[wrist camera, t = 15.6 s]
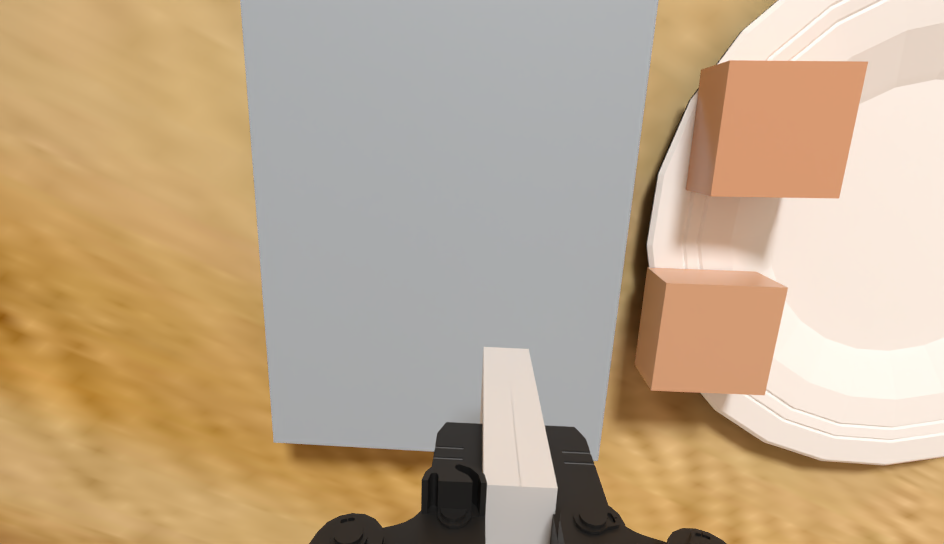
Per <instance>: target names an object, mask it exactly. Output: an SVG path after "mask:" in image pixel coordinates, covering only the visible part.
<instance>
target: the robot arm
mask: <svg viewBox="0 0 944 544" xmlns="http://www.w3.org/2000/svg"><path fill="white" fill-rule="evenodd" d="M309 544H726V543H725V542H724V541H723V540H721V539H719V538H718V537H716V536H714V535H712V534H710V533H708V532H705V531H701V530H698V529H691V528H682V529H679V530H677V531H674V532H672V534H671V535H670V537H669V538H668V540H667V542H663V541H660V540H657V539H653V538H650V537H647V536H644V535H641V534H639V533H636V532H634V531H632V530H631V529H629V528H627V527H626V526H625V524H624V522H623V520H622V519H621V517H620V515H619V514H618V513H617V512H616V511H615V510H613V509H612V508H611V507H610V506H608V503H607V500H606V497H605V494H604V491H603V488H602V485H601V482H600V479H599V476H598V473H597V471H596V468H595V465H594V462H593V459H592V456H591V454H590V450H589V447H588V444H587V441H586V438H585V437H584V436H583V435H582V434H581V433H580V432H579V431H578V430H577V429H576V428H575V427H568V426H547V425H544V420H543V415H542V411H541V406H540V401H539V396H538V391H537V386H536V382H535V377H534V372H533V367H532V362H531V358H530V353H529V349H520V348H499V347H484V349H483V369H482V389H481V409H480V424H477V423H456V422H446V423H445V424H444V425H443V427H442V428H441V429H440V430H439V431H438V433H437V437H436V444H435V450H434V457H433V463H432V467H431V468H430V469H428V470H427V471H426V472H425V474H424V476H423V479H422V506H421V511H420V512H419V513H418V514H417V515H416V516H415V517H414V518H412V519H410V520H408V521H406V522H404V523H401V524H398V525H394V526H390V527H385V528H382V526H381V525H380V524H379V523H378V522H377V521H376V519H374V518H372V517H370V516H368V515H365V514H355V513H351V514H347V515H342V516H339V517H337V518H335V519H333V520H331V521H329V522H327V523H326V524H325V525H324V526H323V527H322V528H321V529H320V530H319V531H318V532H317V534H316V535H315V536H314V538H313V539H312V541H311V542H310V543H309Z"/></svg>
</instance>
